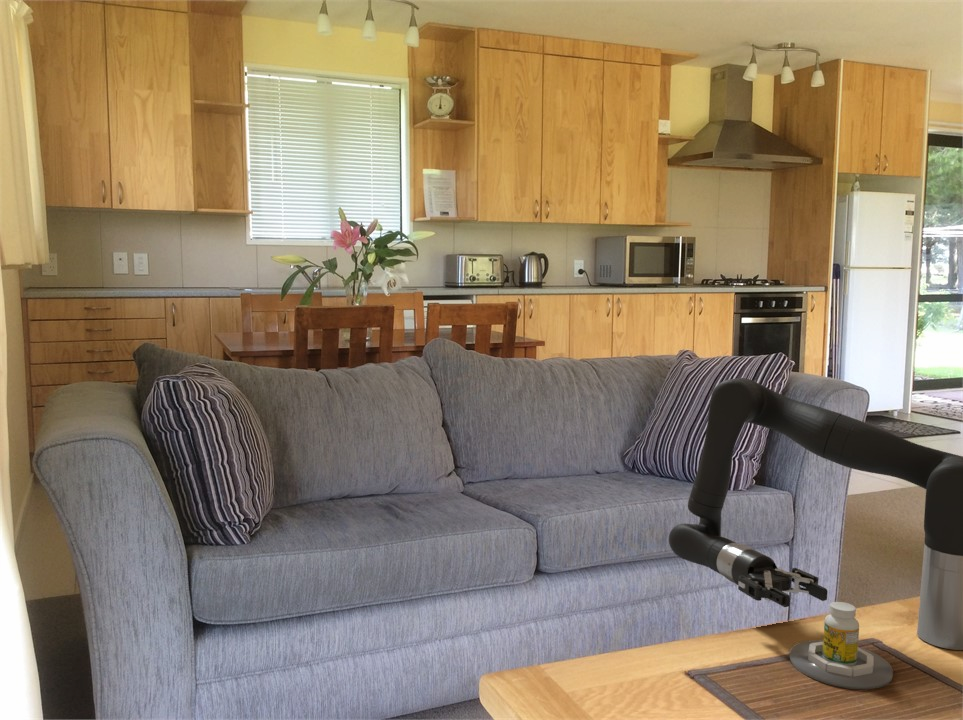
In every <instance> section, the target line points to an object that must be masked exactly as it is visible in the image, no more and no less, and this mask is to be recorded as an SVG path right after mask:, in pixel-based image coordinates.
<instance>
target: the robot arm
mask: <svg viewBox="0 0 963 720" xmlns="http://www.w3.org/2000/svg"><path fill="white" fill-rule="evenodd" d="M710 396H711V397H710V401H709V409H708V416H707V424H706V432H705V438H704V443H703V447H702V448H703V449H702V452H701V457H700V460H699V464H698V467H697V471H696V475H695V478H694V481H693V484H692V487H691V491H690V493H689V498H688V500H687V509H688V511H689V512H690V513H691V514H692V515H694V516H695V517H698V518H699V523H698V524H694V523H679V524H677V525H675V526H674V527H673V528H672V529H671V530H670V531H669V534H668V544H669V547H670V549H671V551H672V553H674V554H675V556H677V557H679V558H680V559H682V560H685V561H688V562H690V563H694V564H696V565H700V566H703V567H706V568H709V569H710V570H712V571H714V572H715V573H717V574H719V575H722V577H724V578H725V579H727V580H728V581H729V582H731V583H734V584H735V585H737V590H739V592H742V593H743V594H745V595H747V596H748V597H750V598H752V599H753V600H755V601H758V602H759V601H762V599H764V600H765V601H767V602H769V601H772V602H774V603H775V604H778V605H779V606H781V607H783V608H789V607H790V601H791V597H790V595H789V594H788V593H791V594H796V595H797V594H799V593H804V594H808V595H809V596H812V597H813V598H816V599H818V600H820V601H822V602H824V601H827V600H828V589H827V588H825V587H823V586H821V585H820V584H819V579H820V578H819V577H818V576H816V575H814V574H811V573H809V572H806V571H804V570H802V569H800V568H797V567H791V572H790V571H786V570H785V569H783V568H781V569H780V568H778V567H777V565H776V563H775V561H774V560H773V559H772V558H771V557H770V556H768V555H766V554H763V553H761V552H759V551H758V550H755V549H753V548H751V547H749V546H747V545H743V544H740V543H737V542H735V541H733V540H732V539H729V538H726V537H724V536H721V534H722V511H723V508H724V504H725V500H726V498H727V495H728V492H729V491H728V490H729V487H730V482H731V478H732V466H733V464H732V463H733V454H734V452H735V451H734V450H735V447H736V443H737V440H738V437H740V434H741V431H742V429H743V427H744V425H745V423H748V424H752V425H753V424H754V425H757V426H760V427H764V428H766V429H770V430H773V431H774V432H778V433H779V434H782V435H784V436H786V437H788V438H789V439H790V440H791V441H793V442H795V443H796V444H797V445H799V446H800V447H802V448H804V449H806V450H807V451H808V452H810V453H812V454H814V455H816V456H817V457H818V456H819V457H820V458H822V459H824V460H825V459H826V460H827V461H830V462H833V463H834V464H835V463H836V464H838V465H840V466H843V467H846V468H849V469H853V470H856V471H861V472H866V473H871V474H877V475H883V476H888V477H894V478H897V479H900V480H903V481H906V482H908V483H911V484H914V485H916V486H918V487H920V488H922V489H924V490H925V502H924V514H923V515H924V518H923V531H924V542H923V543H924V544H923V554H922V555H923V557H922V570H921V581H920V592H919V593H920V594H919V603H918V605H919V606H918V617H917V618H918V619H917V628H916V629H917V630H916V635H917V636H918V638H919V639H920V640H922V641H924V642H926V643H927V644H930V645H931V646H932V645H933V646H934V647H939V648H942V649H946V650H954V651H963V456H962V455H958V454H954V453H950V452H946V451H943V450H939V449H935V448H931V447H928V446H925V445H921V444H918V443H915V442H912V441H909V440H907V439H905V438H903V437H900V436H898V435H896V434H893V433H892V432H889V431H886V430H885V429H882V428H879V427H876V426H875V425H871V424H869V423H866V422H865V421H862V420H860V419H856V418H853V417H850V416H849V415H845V414H842V413H840V412H836V411H833V410H831V409H827V408H824V407H820V406H817V405H814V404H811V403H806V402H803V401H799V400H795V399H793V398H791V397H788V396H785V395H783V394H781V393H779V392H776V391H775V390H772V389H770V388H769V387H766V386H764V385H763V384H761V383H758V382H756V381H754V380H752V379H749V378H746V377H737V378H729V379H725V380H723V381H721V382H719V383H718V384H717V385H716V386H715V387H714V388H713V390H712V393H711V395H710ZM792 583H793V584H794V587H792V586H791V585H792ZM786 592H787V593H786Z"/></svg>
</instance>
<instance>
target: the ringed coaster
mask: <svg viewBox="0 0 963 720" xmlns="http://www.w3.org/2000/svg"><path fill="white" fill-rule="evenodd" d="M823 640H824V639H822V640H821V639H817V640H806V641H801V642H799V643H797V644H795V645H793V646H792V647H791V648H790V650H789V660H790V661H789V662H790V664H791V665H792V666H793V667H794V668H795V669H796V670H797V671H799V672H800V673H801V674H803V675H805V676H806V677H808V678H810V679H812V680H815V681H818V682H820V683H822V684H826V685H830V686H834V687H837V688H843V689H850V690H873V689H874V690H875V689H879V688H883V687H885V686H887V685H889V684H890V683H891V682H892V680H893V675H894V670H893V668H892V665H891V664H890V662H888V661H887V660H886V659H884V658H883V657H882V656H880V655H879V654H877V653H875V652H873V651H870V649H869V650H868V649H867V648H864V647H860V646H858V653H857V663H856V664H855V665H854V666H846V665H840V664H835V663H830V662H828V661H826V660H825V659H824V658H823Z"/></svg>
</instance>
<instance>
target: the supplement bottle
mask: <svg viewBox="0 0 963 720" xmlns="http://www.w3.org/2000/svg"><path fill="white" fill-rule="evenodd" d="M828 610H829V614H827V615H826V616H825V618H824V625H823V639H822V640H823V658H824V659H825V660H826V661H828V662H830V663H835V664H840V665H846V666H854V665H855V664H856V663H857V653H858V647H859V636H860V622H859V621H858V619H856V610H857V609H856V607H855V606H854V605H853V604H851V603H848V602H845V601H844V602H843V601H833V602H830V603H829V609H828Z"/></svg>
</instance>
